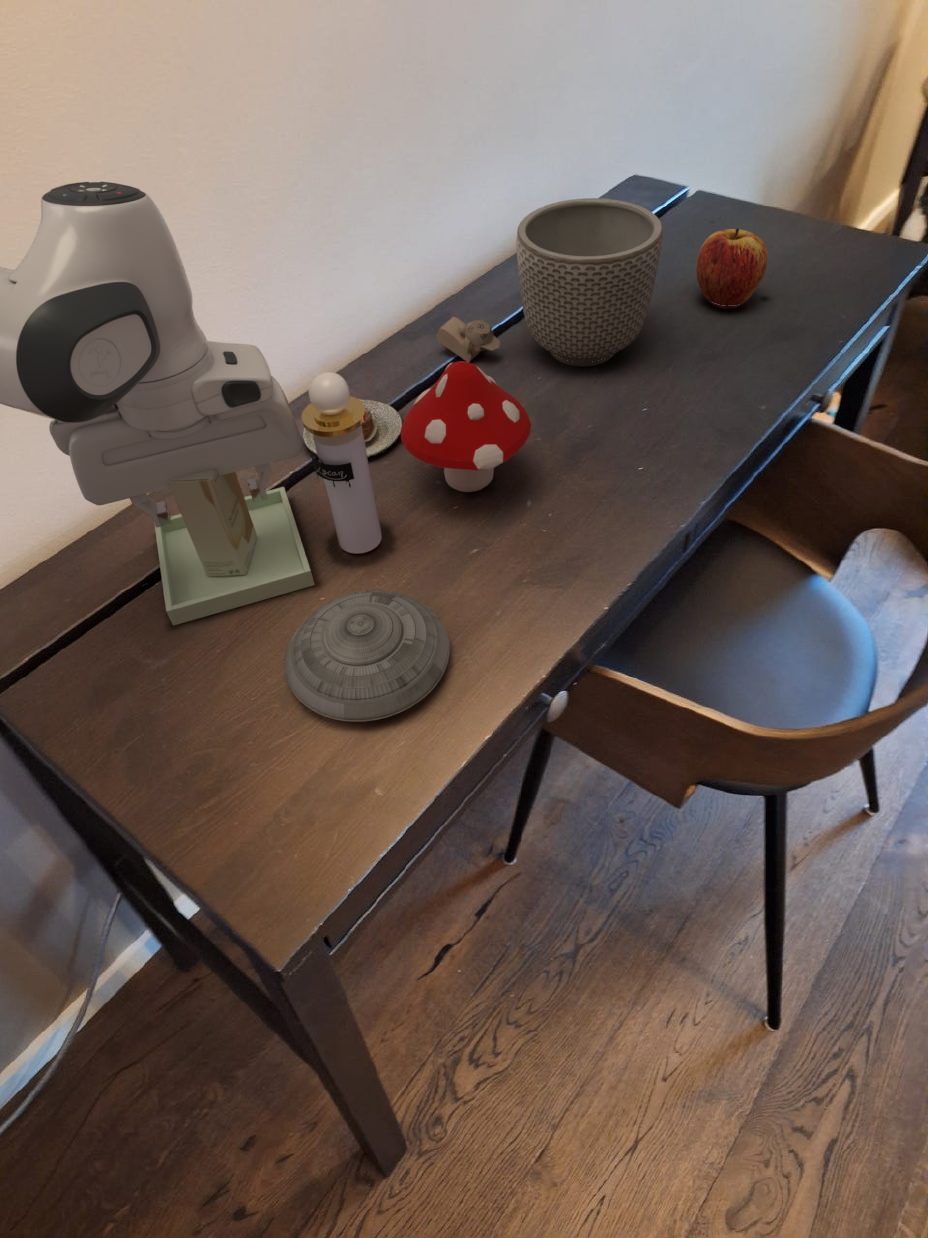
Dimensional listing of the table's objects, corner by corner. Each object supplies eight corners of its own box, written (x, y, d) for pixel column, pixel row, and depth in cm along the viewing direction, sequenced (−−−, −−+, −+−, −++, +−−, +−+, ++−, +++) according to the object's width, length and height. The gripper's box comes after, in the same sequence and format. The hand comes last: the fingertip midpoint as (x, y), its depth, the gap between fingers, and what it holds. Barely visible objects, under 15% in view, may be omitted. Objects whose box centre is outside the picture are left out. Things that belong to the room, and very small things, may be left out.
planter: (650, 319, 112) (664, 197, 100) (647, 389, 101) (662, 261, 89) (526, 315, 115) (525, 196, 103) (509, 383, 104) (506, 258, 92)
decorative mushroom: (447, 432, 97) (435, 315, 86) (552, 460, 93) (555, 340, 81) (385, 503, 89) (364, 383, 78) (497, 538, 85) (492, 415, 73)
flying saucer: (367, 580, 82) (358, 540, 78) (484, 649, 75) (481, 609, 71) (254, 676, 74) (238, 637, 70) (372, 761, 67) (361, 724, 63)
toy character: (479, 381, 108) (494, 348, 103) (431, 347, 109) (443, 312, 104) (495, 366, 110) (509, 333, 105) (448, 332, 111) (460, 298, 106)
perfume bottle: (349, 520, 88) (312, 353, 73) (397, 531, 86) (369, 362, 71) (324, 555, 84) (280, 387, 70) (373, 568, 83) (339, 398, 68)
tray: (173, 625, 79) (166, 611, 78) (160, 535, 88) (153, 520, 87) (315, 585, 82) (310, 570, 80) (288, 500, 91) (283, 486, 89)
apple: (679, 308, 113) (690, 236, 106) (706, 281, 118) (718, 210, 111) (742, 324, 110) (757, 250, 102) (767, 295, 114) (783, 222, 107)
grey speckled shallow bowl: (323, 404, 103) (315, 372, 100) (414, 410, 101) (409, 377, 98) (291, 462, 96) (282, 429, 92) (388, 470, 93) (383, 436, 90)
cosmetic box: (247, 576, 82) (212, 481, 73) (205, 578, 82) (164, 483, 73) (258, 533, 87) (226, 438, 77) (219, 535, 87) (182, 440, 78)
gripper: (40, 434, 66) (105, 558, 76) (288, 376, 69) (319, 502, 79) (40, 394, 70) (102, 517, 80) (275, 342, 73) (306, 466, 84)
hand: (212, 509), depth 80 cm, fingers open, 8 cm apart
